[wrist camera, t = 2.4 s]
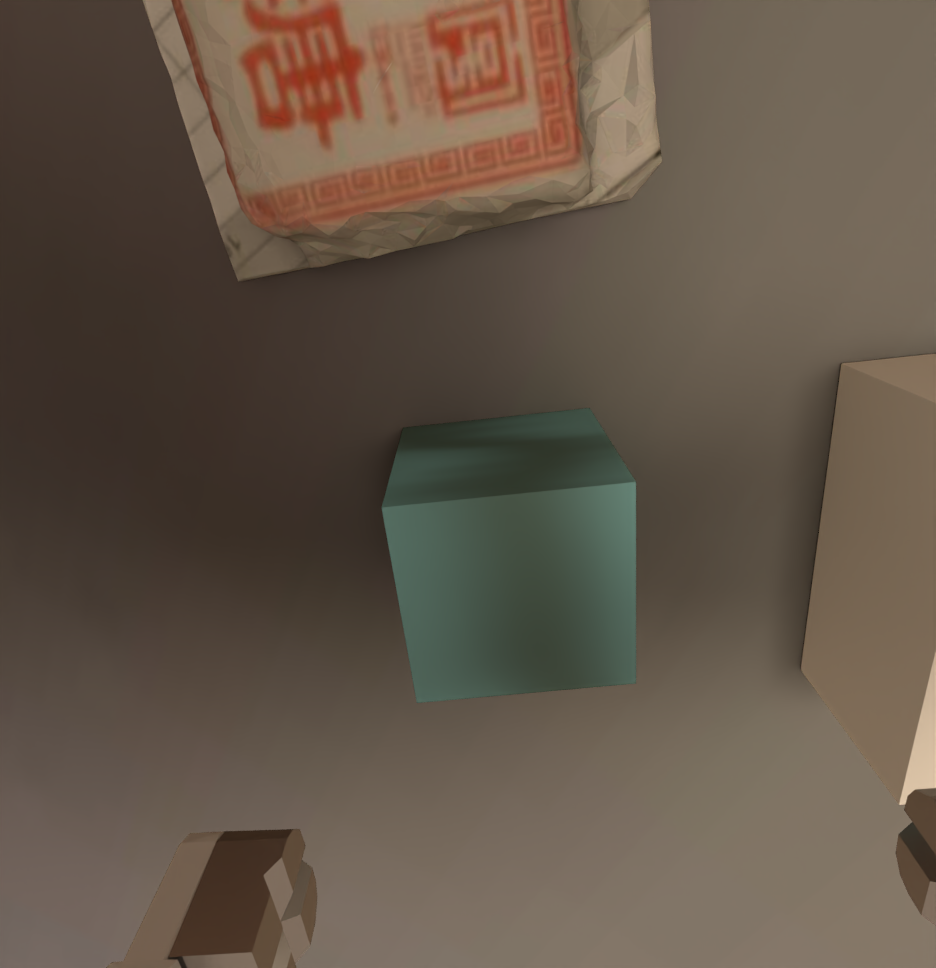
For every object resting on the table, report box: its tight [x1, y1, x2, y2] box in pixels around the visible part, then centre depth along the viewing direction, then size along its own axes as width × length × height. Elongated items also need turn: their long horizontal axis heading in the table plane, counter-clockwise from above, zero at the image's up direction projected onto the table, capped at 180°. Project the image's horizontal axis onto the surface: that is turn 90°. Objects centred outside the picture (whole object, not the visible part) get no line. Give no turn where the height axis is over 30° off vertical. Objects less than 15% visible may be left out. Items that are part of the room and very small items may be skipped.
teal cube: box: [382, 408, 636, 703], centre depth 16 cm, size 5×5×5 cm
